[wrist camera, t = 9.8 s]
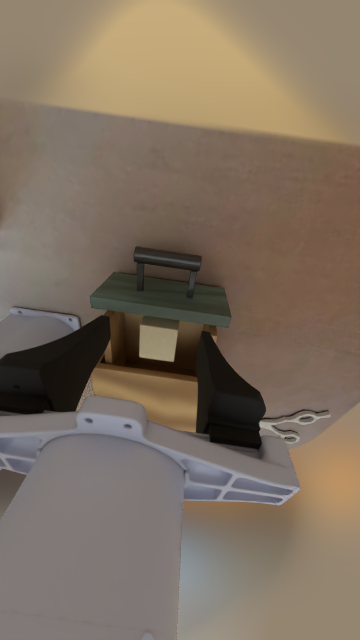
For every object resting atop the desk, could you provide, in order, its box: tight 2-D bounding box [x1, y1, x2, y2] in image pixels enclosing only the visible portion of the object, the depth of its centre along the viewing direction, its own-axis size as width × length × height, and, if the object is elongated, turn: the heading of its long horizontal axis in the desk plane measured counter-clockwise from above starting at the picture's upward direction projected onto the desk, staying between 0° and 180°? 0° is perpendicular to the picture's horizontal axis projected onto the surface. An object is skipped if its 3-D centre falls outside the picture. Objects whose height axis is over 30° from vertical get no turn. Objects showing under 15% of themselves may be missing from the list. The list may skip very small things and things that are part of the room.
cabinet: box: [91, 353, 198, 433], centre depth 29 cm, size 15×14×8 cm
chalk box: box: [139, 315, 180, 362], centre depth 23 cm, size 4×4×5 cm
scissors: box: [259, 411, 331, 443], centre depth 38 cm, size 11×1×20 cm
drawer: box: [90, 247, 231, 377], centre depth 23 cm, size 18×13×6 cm
